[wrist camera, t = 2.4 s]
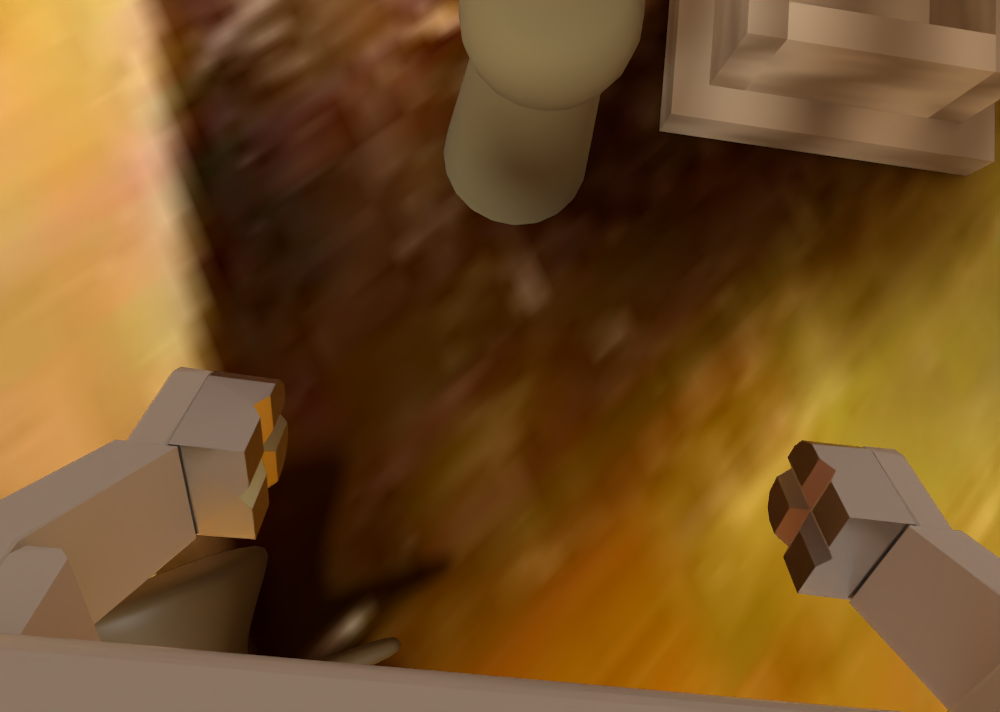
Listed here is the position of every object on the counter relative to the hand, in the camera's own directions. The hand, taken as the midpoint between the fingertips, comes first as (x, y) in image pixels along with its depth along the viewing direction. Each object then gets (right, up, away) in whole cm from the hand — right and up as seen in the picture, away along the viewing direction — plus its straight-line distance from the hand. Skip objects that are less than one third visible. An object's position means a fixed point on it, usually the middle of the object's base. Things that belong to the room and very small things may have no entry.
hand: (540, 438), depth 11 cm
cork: (0, +10, +17) cm, 20 cm away
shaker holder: (+14, +17, +19) cm, 29 cm away
